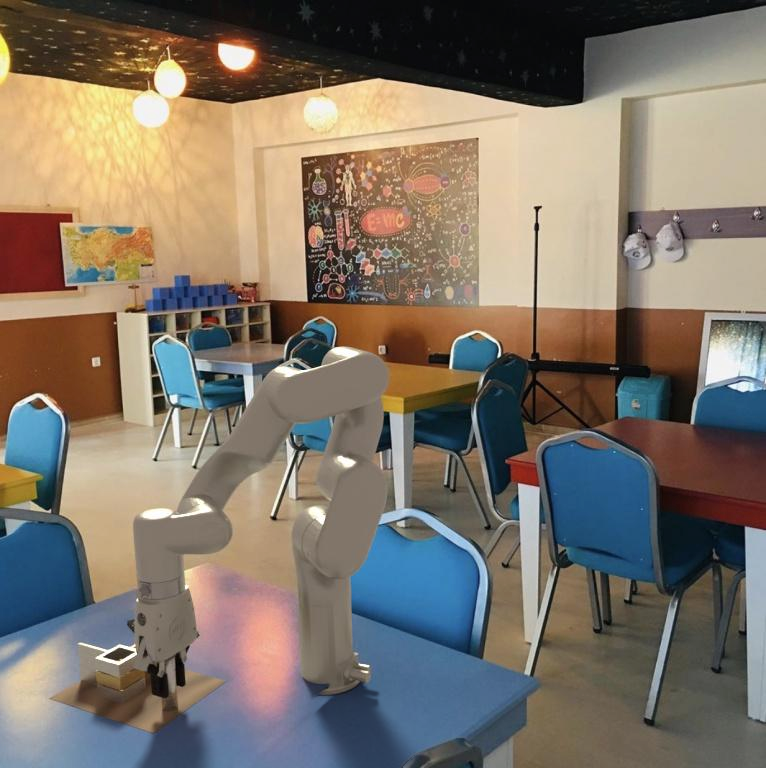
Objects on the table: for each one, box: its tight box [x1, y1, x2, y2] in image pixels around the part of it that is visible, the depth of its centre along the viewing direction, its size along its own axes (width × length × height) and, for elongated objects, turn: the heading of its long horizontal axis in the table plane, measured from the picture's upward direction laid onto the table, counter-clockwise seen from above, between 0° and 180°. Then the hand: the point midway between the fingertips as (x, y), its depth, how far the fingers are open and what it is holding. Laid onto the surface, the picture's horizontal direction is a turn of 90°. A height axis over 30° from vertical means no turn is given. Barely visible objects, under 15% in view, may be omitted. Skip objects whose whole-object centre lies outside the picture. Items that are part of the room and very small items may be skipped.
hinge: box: [77, 642, 157, 704], centre depth 148 cm, size 13×13×7 cm
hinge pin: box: [161, 654, 178, 712], centre depth 138 cm, size 3×3×10 cm
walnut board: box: [49, 669, 228, 734], centre depth 145 cm, size 24×18×2 cm
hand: (168, 689), depth 138 cm, fingers open, 3 cm apart
